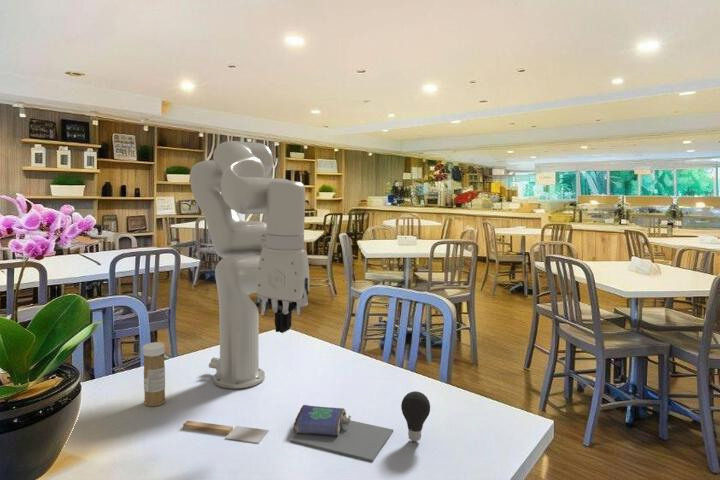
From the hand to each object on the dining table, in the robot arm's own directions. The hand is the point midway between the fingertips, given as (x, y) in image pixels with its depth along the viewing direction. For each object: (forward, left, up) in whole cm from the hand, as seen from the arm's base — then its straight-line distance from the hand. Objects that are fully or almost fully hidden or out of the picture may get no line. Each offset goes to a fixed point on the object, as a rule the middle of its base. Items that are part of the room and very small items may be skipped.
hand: (282, 330), depth 100 cm
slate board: (+14, 0, -20) cm, 24 cm away
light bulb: (+28, +4, -20) cm, 34 cm away
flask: (+4, 0, -18) cm, 18 cm away
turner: (-7, -8, -20) cm, 23 cm away
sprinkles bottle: (-30, -4, -20) cm, 36 cm away
